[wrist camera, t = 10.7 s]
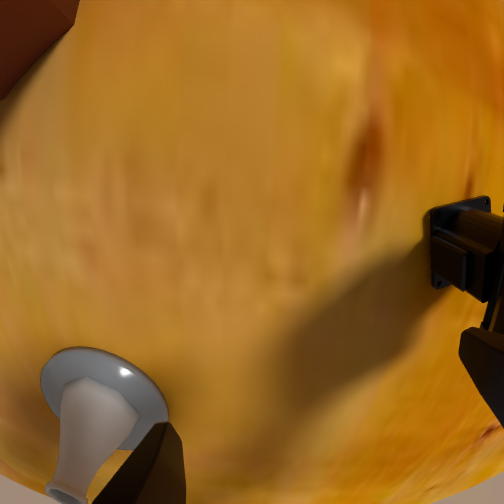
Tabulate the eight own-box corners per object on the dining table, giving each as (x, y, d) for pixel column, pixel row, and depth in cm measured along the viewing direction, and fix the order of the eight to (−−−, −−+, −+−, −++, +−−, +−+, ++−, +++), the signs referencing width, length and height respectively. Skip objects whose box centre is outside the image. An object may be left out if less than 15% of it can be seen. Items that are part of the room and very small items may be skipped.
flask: (113, 442, 24) (90, 526, 14) (50, 398, 22) (9, 478, 12) (155, 414, 23) (135, 515, 13) (83, 361, 21) (33, 457, 11)
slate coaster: (134, 336, 21) (130, 344, 20) (188, 438, 25) (187, 446, 24) (23, 353, 21) (18, 359, 20) (85, 442, 25) (82, 449, 24)
